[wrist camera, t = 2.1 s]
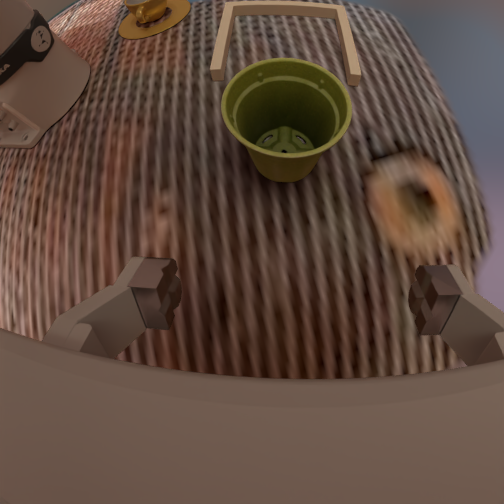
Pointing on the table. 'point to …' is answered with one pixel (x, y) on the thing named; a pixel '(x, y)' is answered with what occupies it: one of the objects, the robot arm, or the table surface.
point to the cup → (151, 16)
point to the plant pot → (286, 115)
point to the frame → (285, 9)
